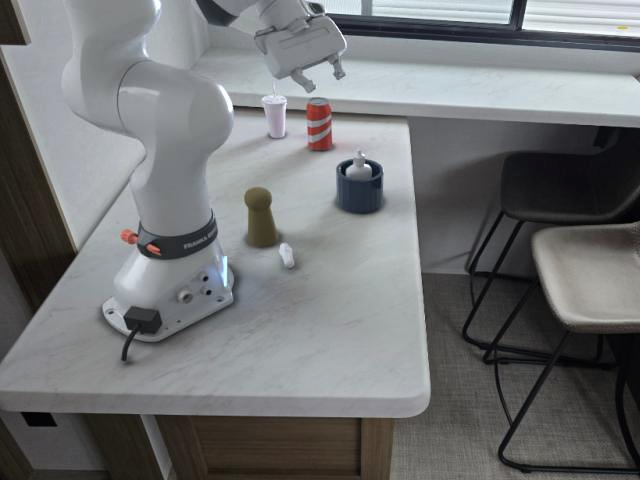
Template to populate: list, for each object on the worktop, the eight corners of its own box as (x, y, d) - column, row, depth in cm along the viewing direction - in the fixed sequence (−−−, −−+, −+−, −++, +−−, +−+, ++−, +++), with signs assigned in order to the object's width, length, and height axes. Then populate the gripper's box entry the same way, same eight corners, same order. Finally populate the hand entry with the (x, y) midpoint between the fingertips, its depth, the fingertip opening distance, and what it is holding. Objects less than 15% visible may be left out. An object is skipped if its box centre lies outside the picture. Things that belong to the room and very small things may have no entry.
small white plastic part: (273, 270, 105) (272, 257, 103) (281, 251, 109) (280, 239, 107) (292, 272, 105) (291, 259, 102) (299, 253, 109) (298, 240, 107)
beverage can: (304, 143, 145) (302, 97, 137) (328, 139, 147) (326, 95, 139) (312, 153, 141) (309, 107, 133) (335, 149, 143) (335, 104, 135)
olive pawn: (271, 249, 110) (266, 201, 102) (243, 244, 110) (235, 196, 103) (282, 232, 114) (278, 185, 107) (255, 227, 115) (248, 180, 108)
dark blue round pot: (364, 219, 120) (365, 186, 114) (327, 203, 123) (326, 171, 118) (391, 199, 126) (392, 167, 121) (354, 185, 130) (355, 154, 125)
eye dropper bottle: (369, 205, 123) (371, 155, 115) (344, 203, 123) (344, 153, 115) (372, 195, 126) (373, 146, 118) (347, 193, 126) (347, 144, 118)
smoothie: (292, 131, 150) (288, 78, 141) (286, 141, 145) (281, 87, 136) (268, 128, 150) (263, 76, 141) (262, 139, 145) (256, 85, 136)
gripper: (256, 23, 100) (301, 90, 103) (328, 2, 113) (365, 62, 116) (242, 43, 105) (285, 107, 107) (312, 21, 118) (349, 79, 121)
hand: (327, 84), depth 112 cm, fingers open, 8 cm apart
